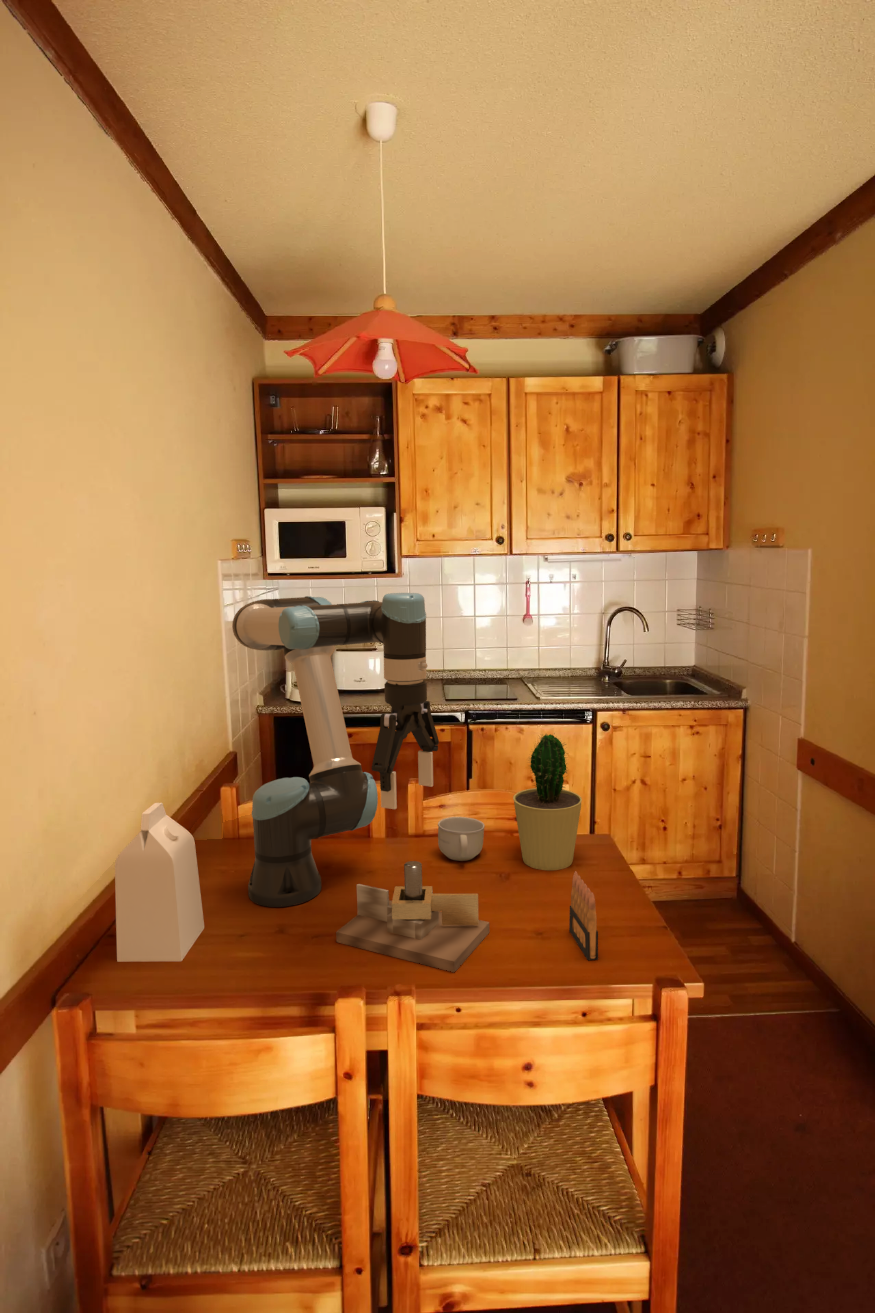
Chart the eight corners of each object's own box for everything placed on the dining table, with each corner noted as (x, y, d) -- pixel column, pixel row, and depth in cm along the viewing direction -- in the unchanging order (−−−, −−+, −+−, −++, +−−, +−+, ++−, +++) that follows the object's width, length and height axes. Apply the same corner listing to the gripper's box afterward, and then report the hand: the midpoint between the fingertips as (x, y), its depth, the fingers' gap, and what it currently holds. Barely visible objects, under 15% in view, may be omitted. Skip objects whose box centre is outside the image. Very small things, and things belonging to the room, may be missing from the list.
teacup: (441, 846, 182) (441, 814, 181) (486, 847, 181) (486, 815, 180) (433, 870, 169) (432, 836, 168) (481, 872, 167) (481, 837, 166)
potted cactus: (526, 843, 183) (525, 722, 179) (588, 853, 176) (589, 727, 172) (503, 867, 169) (502, 737, 165) (571, 879, 163) (571, 743, 159)
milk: (145, 928, 145) (134, 797, 142) (204, 927, 145) (195, 797, 141) (117, 961, 133) (105, 820, 130) (181, 961, 133) (171, 819, 129)
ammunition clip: (598, 960, 130) (599, 894, 129) (588, 961, 130) (588, 895, 129) (578, 930, 141) (578, 868, 139) (569, 930, 141) (569, 869, 139)
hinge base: (336, 942, 138) (334, 900, 137) (379, 907, 152) (378, 869, 150) (454, 972, 127) (453, 928, 126) (489, 932, 141) (488, 891, 140)
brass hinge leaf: (392, 934, 136) (391, 903, 135) (396, 915, 143) (395, 886, 142) (478, 933, 135) (478, 903, 134) (478, 915, 142) (477, 886, 141)
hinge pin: (402, 928, 139) (401, 866, 137) (410, 920, 142) (409, 859, 140) (417, 932, 137) (416, 869, 136) (425, 924, 140) (424, 862, 138)
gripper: (387, 694, 121) (390, 821, 124) (455, 671, 143) (456, 779, 146) (348, 691, 124) (352, 815, 127) (420, 668, 146) (422, 774, 149)
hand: (408, 796), depth 137 cm, fingers open, 13 cm apart
